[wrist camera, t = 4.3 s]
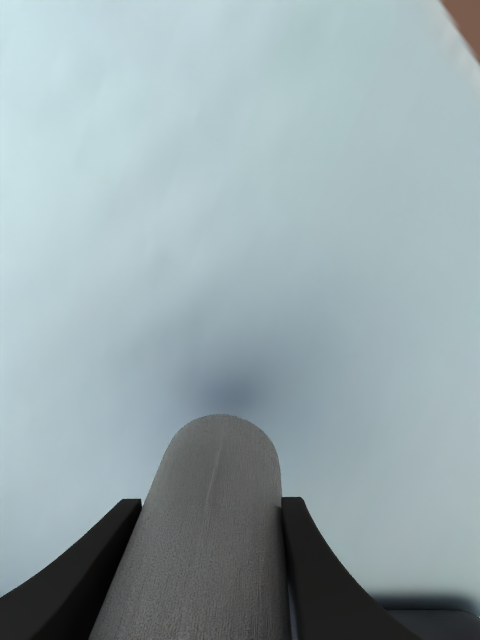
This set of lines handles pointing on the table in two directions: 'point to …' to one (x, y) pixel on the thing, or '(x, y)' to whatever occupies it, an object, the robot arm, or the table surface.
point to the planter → (205, 544)
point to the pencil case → (439, 624)
